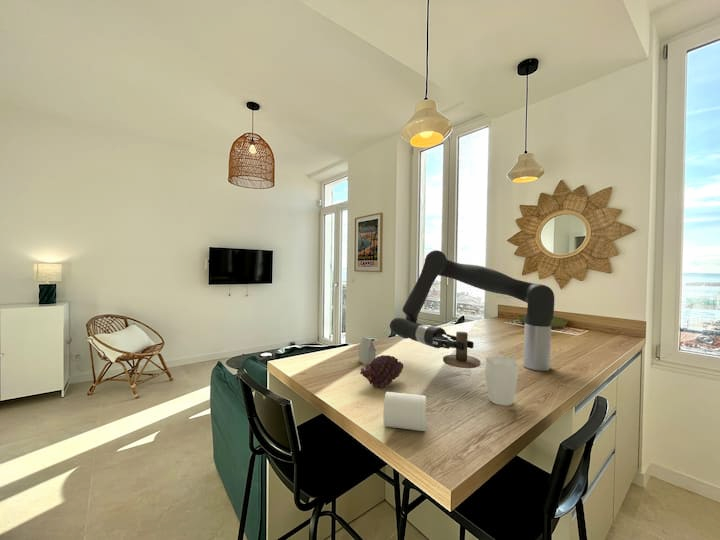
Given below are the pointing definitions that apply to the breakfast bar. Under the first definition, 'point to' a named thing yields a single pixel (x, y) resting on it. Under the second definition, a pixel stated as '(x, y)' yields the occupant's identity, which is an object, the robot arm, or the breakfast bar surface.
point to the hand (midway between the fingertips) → (468, 346)
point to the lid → (461, 355)
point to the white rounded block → (405, 411)
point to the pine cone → (382, 370)
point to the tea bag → (366, 351)
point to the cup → (501, 379)
